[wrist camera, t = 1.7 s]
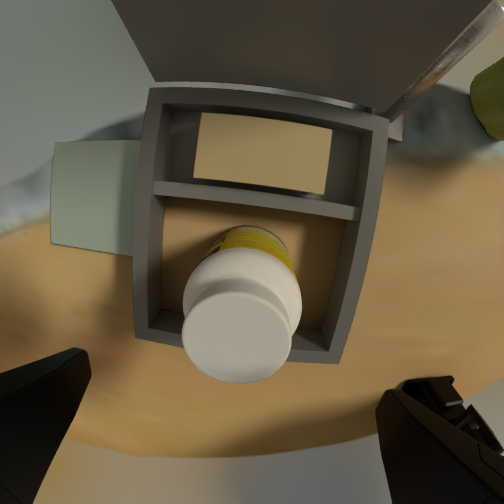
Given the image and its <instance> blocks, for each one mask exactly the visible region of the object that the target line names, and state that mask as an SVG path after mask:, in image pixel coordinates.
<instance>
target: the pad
mask: <svg viewBox="0 0 504 504" xmlns="http://www.w3.org/2000/svg"><path fill="white" fill-rule="evenodd" d="M140 145H141V140H96V141H74V142H59V143H55V148H54V157H53V168H52V183H51V243H55V244H61V245H66V246H72V247H78V248H84V249H90V250H97V251H103V252H109V253H115V254H122V255H128V256H133V228H134V208H135V193H136V181H137V171H138V161H139V153H140Z"/></svg>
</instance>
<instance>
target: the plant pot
mask: <svg viewBox="0 0 504 504" xmlns="http://www.w3.org/2000/svg"><path fill="white" fill-rule="evenodd" d="M470 97H471V102H472V106H473V109H474V112H475V115H476V117H477V118H478V119H479V120H480V122H481V123H482V124H483V126H484V127H485V129H486V132H487V133H488V134H489V135H490V136H492V137H493V138H495V139H497V140H503V141H504V57H503V58H502V59H500V60H499V61H497V62H496V63H494V64H493V65H491V66H490V67H488V68H487V69H485V70H484V71H482V72H481V73H479V74H478V75H477V76H476V77H475V78H474V80H473V81H472V83H471V86H470Z"/></svg>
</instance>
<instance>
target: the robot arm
mask: <svg viewBox="0 0 504 504" xmlns="http://www.w3.org/2000/svg"><path fill="white" fill-rule="evenodd" d="M90 379H91V367H90V362H89V357H88V353H87V352H86V351H85V350H83V349H80V348H77V347H74V348H71V349H68V350H65V351H62V352H60V353H57V354H54V355H51V356H49V357H46V358H43V359H40V360H37V361H35V362H32V363H29V364H26V365H23V366H20V367H17V368H14V369H11V370H9V371H6V372H3V373H0V504H33V502H34V499H35V497H36V495H37V492H38V490H39V488H40V486H41V483H42V481H43V479H44V477H45V475H46V473H47V470H48V468H49V466H50V464H51V462H52V460H53V458H54V456H55V454H56V452H57V450H58V448H59V446H60V444H61V442H62V440H63V438H64V436H65V434H66V432H67V430H68V428H69V426H70V425H71V423H72V421H73V419H74V417H75V415H76V413H77V410H78V408H79V405H80V403H81V400H82V398H83V395H84V393H85V391H86V388H87V386H88V384H89V381H90ZM453 382H454V378H453V377H452V376H445V377H436V378H426V379H414V380H408V381H407V382H406V383H405V384H404V386H403V388H402V390H400V389H388V390H386V391H385V392H384V394H383V396H382V398H381V400H380V402H379V404H378V406H377V408H376V412H375V416H376V422H377V429H378V436H379V443H380V450H381V456H382V460H383V464H384V468H385V473H386V477H387V481H388V486H389V490H390V495H391V499H392V504H504V456H502V455H500V454H501V453H503V452H504V449H503V447H502V446H501V444H500V442H499V441H498V439H497V438H496V436H495V435H494V433H493V431H492V430H491V429H490V427H489V426H488V425H487V423H486V422H485V420H484V419H483V418H482V416H481V415H480V414H479V413H478V412H477V410H476V409H475V408H474V407H473V406H472V405H470V406H469V407H468V408H467V410H466V409H465V408H464V406H463V405H462V403H463V399H462V398H461V396H460V395H459V394H458V392H457V391H456V390H455V389H454V387H453V386H452V384H453ZM478 427H479V428H478ZM477 428H478V429H477Z"/></svg>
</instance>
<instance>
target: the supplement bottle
mask: <svg viewBox="0 0 504 504" xmlns="http://www.w3.org/2000/svg"><path fill="white" fill-rule="evenodd" d="M183 312H184V316H185V320H184V323H183V327H182V343H183V346H184V350H185V352H186V354H187V356H188V357H189V359H190V360H191V362H192V363H193V364H194V365H195V366H196V367H197V368H198V369H199V370H200V371H202V372H203V373H204V374H206V375H208V376H210V377H212V378H214V379H216V380H219V381H222V382H227V383H233V384H246V383H252V382H257V381H260V380H262V379H264V378H267V377H269V376H270V375H272V374H273V373H275V372H276V371H277V370H278V369H279V368H280V367H281V366H282V365H283V364H284V362H285V361H286V359H287V357H288V355H289V352H290V349H291V343H292V335H293V334H294V332H295V330H296V328H297V326H298V324H299V321H300V317H301V312H302V299H301V292H300V288H299V284H298V281H297V278H296V275H295V272H294V269H293V266H292V263H291V260H290V257H289V253H288V251H287V249H286V247H285V245H284V244H283V242H282V241H281V240H280V238H279V237H278V236H277V235H276V234H274V233H273V232H271V231H270V230H268V229H266V228H264V227H260V226H256V225H240V226H236V227H233V228H231V229H229V230H227V231H226V232H224V233H223V234H222V235H220V236H219V237H218V238H217V239H216V240H215V242H214V243H213V244H212V246H211V247H210V249H209V250H208V252H207V253H206V254H205V256H204V257H203V258H202V260H201V261H200V263H199V264H198V265H197V266H196V268H195V269H194V270H193V272H192V274H191V276H190V278H189V279H188V282H187V284H186V287H185V290H184V295H183Z"/></svg>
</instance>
